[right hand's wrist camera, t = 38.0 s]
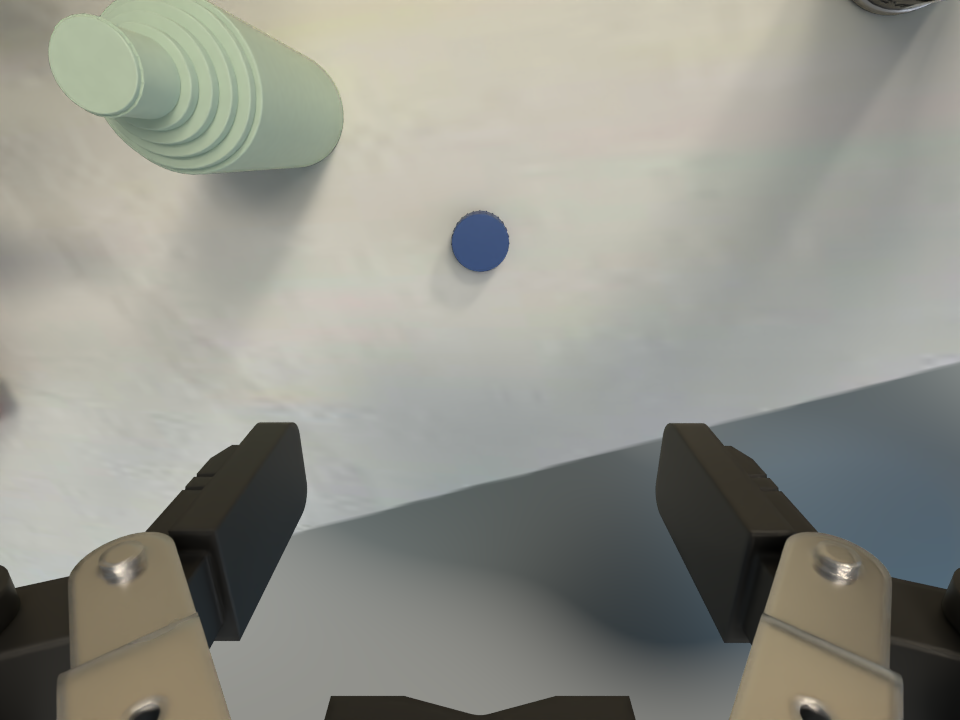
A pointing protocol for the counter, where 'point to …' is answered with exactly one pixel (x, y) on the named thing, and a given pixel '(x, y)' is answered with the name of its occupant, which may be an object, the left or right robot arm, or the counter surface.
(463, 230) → the cap
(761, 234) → the counter surface
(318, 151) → the bottle
